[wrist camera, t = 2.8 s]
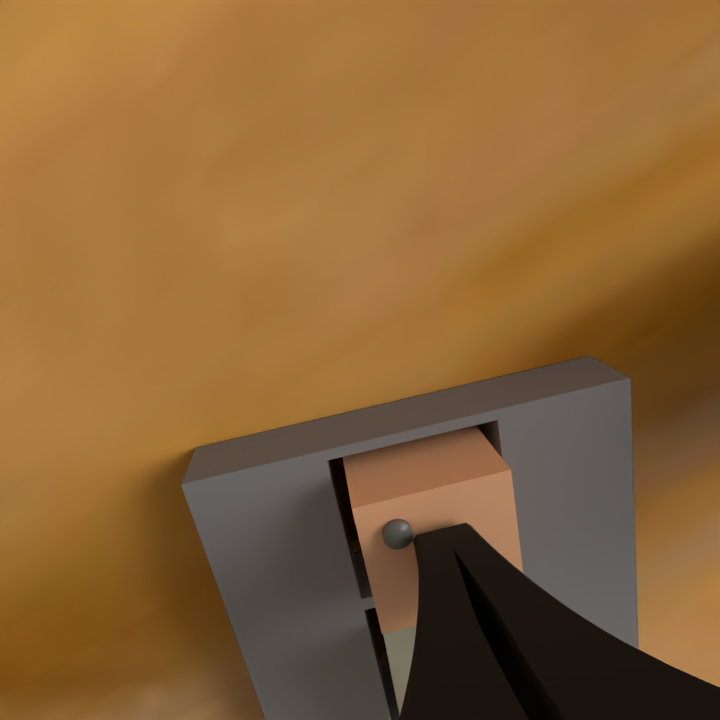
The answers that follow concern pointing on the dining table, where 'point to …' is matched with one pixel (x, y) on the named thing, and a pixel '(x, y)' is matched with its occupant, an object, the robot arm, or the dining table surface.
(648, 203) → the dining table surface
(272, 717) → the button board
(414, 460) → the orange dice cube
